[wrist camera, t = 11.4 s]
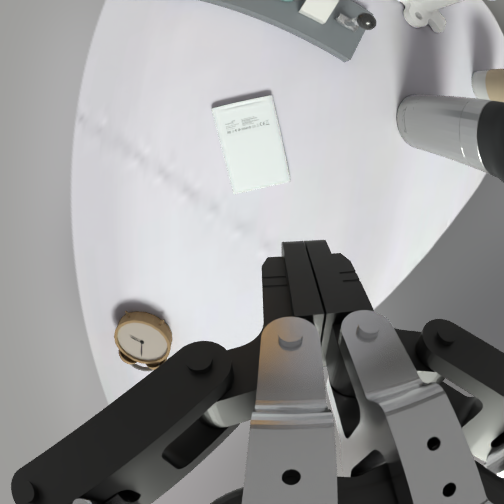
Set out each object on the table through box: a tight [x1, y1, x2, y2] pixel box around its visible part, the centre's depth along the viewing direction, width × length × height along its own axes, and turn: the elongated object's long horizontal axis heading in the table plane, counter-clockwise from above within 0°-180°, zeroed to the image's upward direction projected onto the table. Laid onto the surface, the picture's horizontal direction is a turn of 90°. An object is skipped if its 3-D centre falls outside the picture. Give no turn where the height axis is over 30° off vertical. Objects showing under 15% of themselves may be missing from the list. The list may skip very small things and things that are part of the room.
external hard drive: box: [212, 95, 290, 194], centre depth 35 cm, size 2×8×12 cm
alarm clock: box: [114, 311, 172, 371], centre depth 49 cm, size 11×5×15 cm
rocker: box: [299, 0, 339, 24], centre depth 23 cm, size 4×4×2 cm
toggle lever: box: [335, 13, 376, 32], centre depth 22 cm, size 3×2×10 cm
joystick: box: [398, 0, 495, 33], centre depth 16 cm, size 11×8×20 cm
